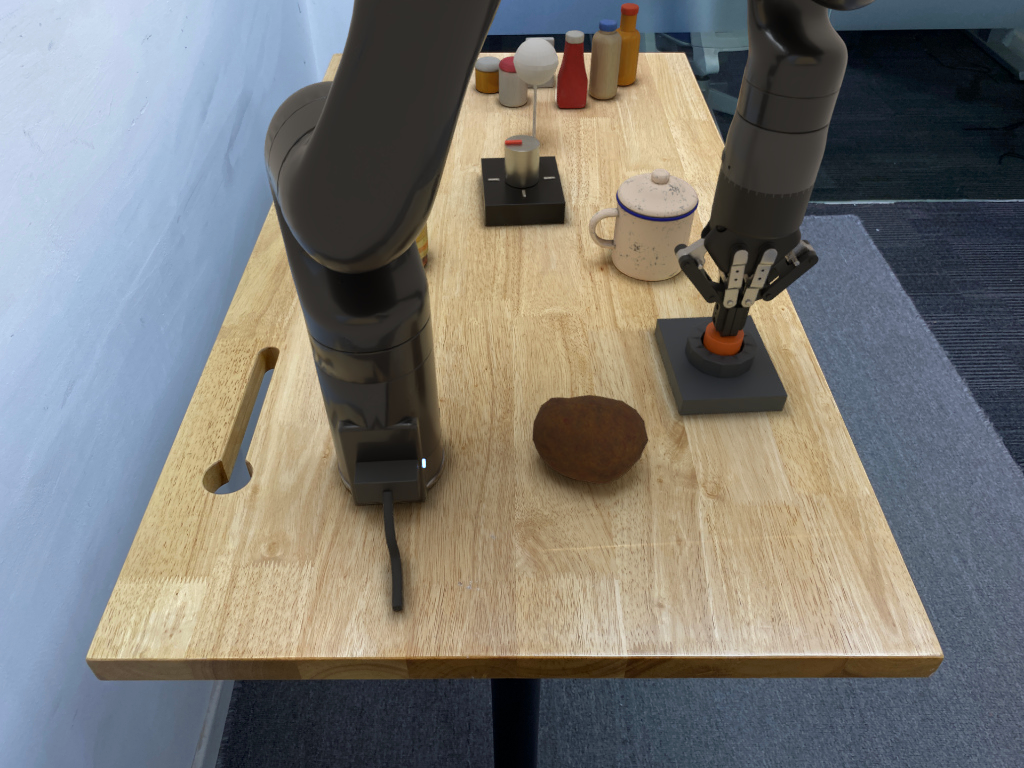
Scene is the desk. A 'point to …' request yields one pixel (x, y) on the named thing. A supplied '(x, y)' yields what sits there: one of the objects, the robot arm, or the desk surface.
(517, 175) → the stove knob
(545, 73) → the lollipop
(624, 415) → the potato
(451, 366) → the desk surface
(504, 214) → the stove panel
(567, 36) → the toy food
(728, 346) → the button
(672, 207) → the teacup with lid
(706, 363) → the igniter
